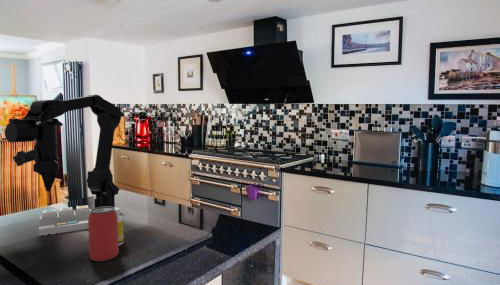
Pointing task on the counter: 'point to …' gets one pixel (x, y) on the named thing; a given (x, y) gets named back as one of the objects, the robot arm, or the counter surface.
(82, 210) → the key
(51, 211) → the key
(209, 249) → the counter surface
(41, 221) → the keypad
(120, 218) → the supplement bottle
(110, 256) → the beer can
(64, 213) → the key mid
